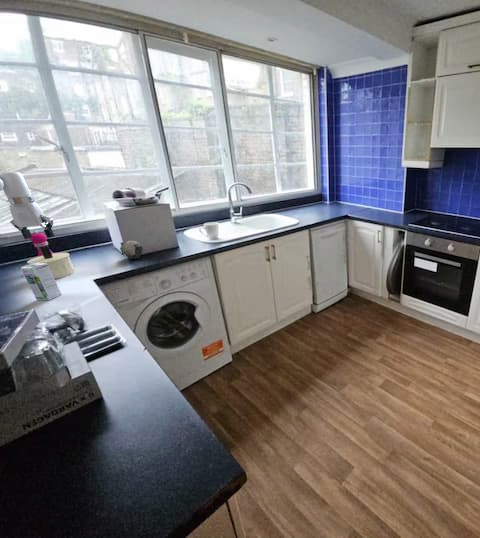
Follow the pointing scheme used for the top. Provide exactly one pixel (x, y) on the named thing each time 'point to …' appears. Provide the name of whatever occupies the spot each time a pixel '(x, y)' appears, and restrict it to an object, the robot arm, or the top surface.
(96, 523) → the top surface
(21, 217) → the robot arm
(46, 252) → the lid
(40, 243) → the pepper mill
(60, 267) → the pot
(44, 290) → the syrup box
